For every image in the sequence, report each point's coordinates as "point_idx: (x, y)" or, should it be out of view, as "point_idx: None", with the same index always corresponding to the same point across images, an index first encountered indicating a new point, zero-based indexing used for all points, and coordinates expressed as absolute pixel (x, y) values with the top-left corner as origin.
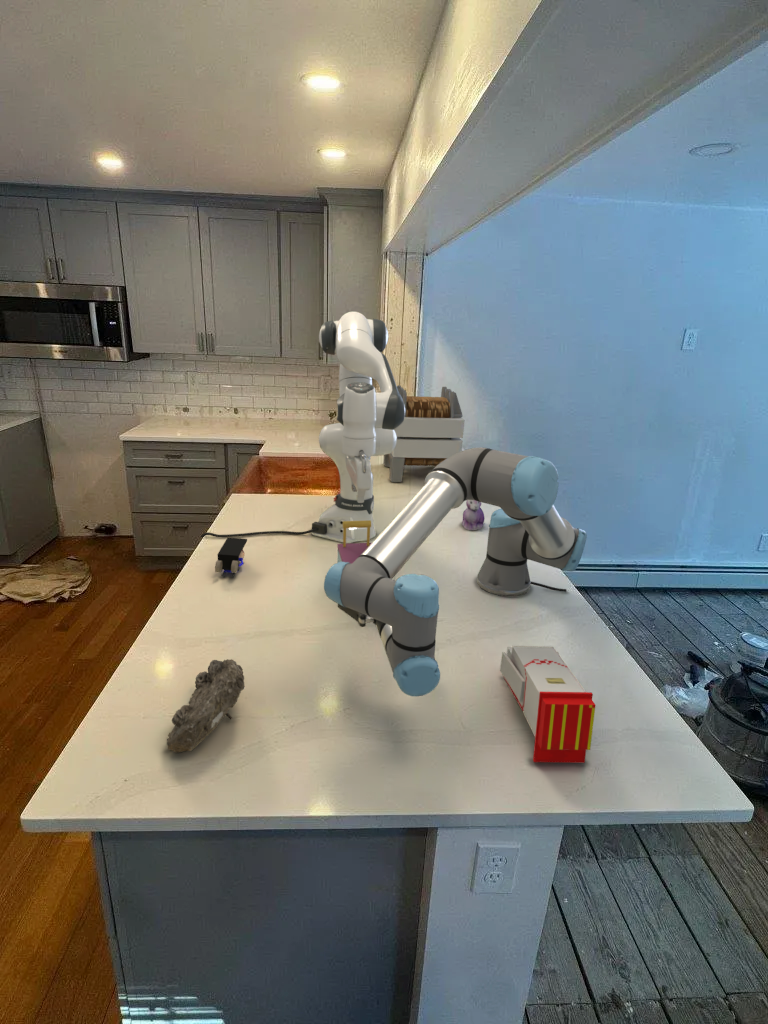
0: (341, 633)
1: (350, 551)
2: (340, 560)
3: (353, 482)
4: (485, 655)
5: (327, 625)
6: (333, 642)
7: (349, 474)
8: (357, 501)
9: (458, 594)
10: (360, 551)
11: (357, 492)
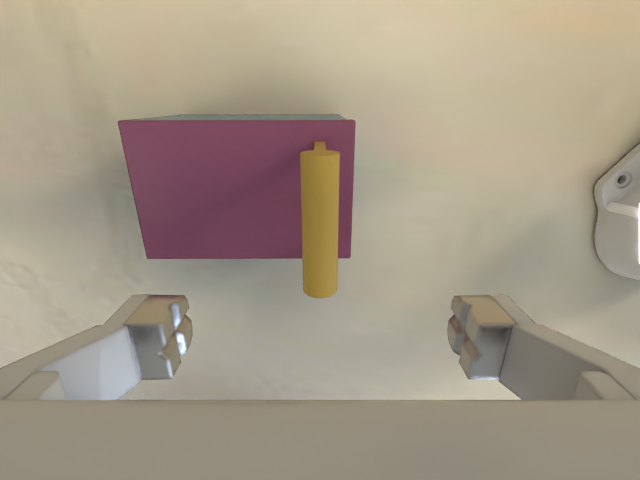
0: (52, 89)
1: (271, 165)
2: (253, 119)
3: (72, 411)
4: (19, 356)
5: (87, 54)
6: (5, 61)
7: (563, 412)
8: (131, 297)
9: (247, 375)
10: (269, 203)
11: (36, 357)
